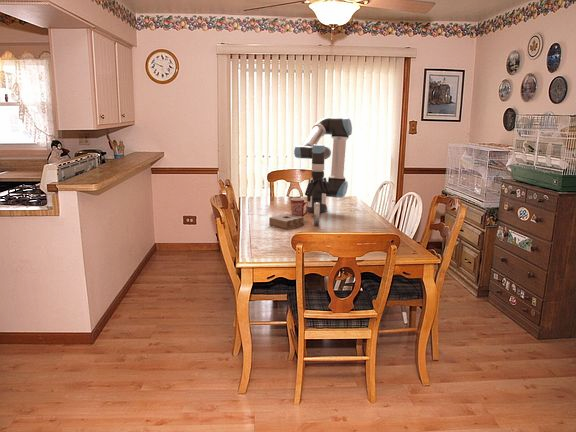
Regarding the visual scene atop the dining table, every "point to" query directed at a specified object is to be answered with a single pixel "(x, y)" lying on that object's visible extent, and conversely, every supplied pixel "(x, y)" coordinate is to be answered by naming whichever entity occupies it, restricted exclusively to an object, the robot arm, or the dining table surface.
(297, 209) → the mug
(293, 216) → the bore block
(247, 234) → the dining table surface
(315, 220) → the pin
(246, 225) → the dining table surface
